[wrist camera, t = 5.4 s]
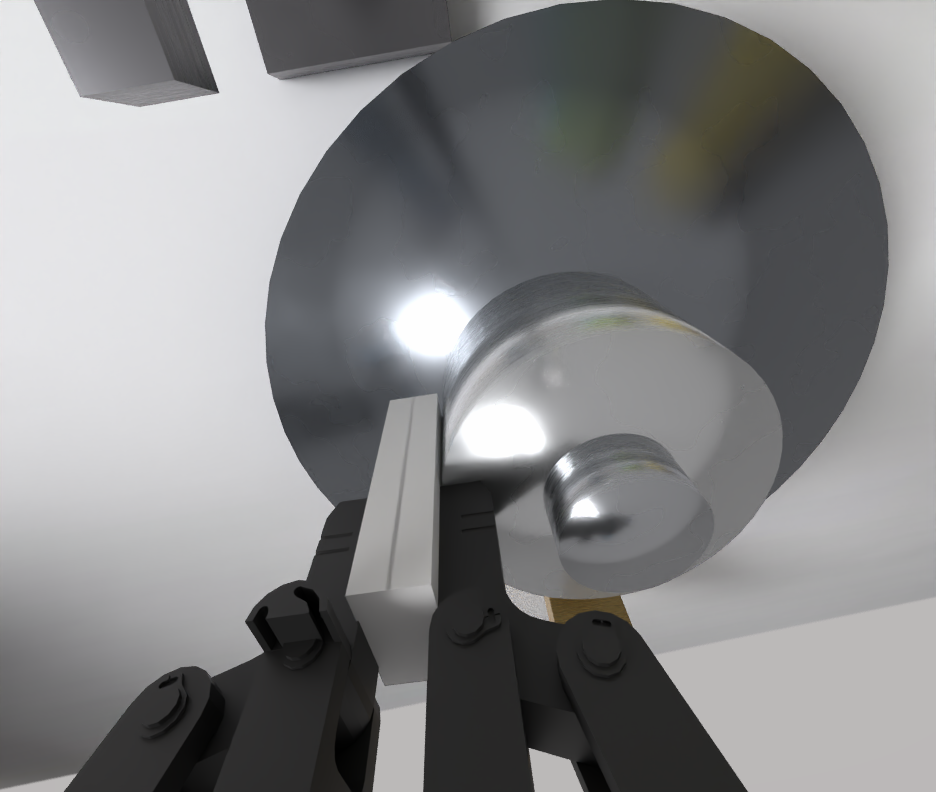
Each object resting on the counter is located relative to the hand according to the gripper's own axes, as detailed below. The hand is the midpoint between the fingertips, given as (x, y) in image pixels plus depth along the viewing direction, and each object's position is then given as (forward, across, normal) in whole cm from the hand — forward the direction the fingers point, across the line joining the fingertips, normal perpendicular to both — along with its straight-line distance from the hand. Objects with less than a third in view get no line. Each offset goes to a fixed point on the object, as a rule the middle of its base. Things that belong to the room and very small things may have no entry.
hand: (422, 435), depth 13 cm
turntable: (+3, +5, -1) cm, 6 cm away
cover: (+2, +5, 0) cm, 5 cm away
